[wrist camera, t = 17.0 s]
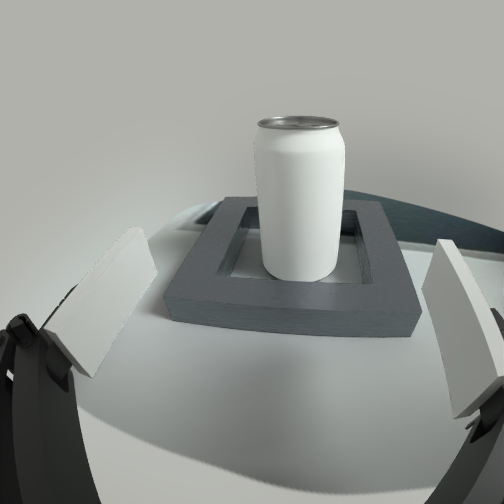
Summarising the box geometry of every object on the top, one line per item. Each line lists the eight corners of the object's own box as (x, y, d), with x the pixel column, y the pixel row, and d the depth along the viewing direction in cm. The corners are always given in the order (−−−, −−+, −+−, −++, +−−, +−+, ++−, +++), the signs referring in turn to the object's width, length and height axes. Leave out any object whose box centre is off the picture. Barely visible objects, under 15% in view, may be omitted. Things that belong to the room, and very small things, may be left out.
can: (293, 234, 28) (290, 113, 21) (349, 258, 24) (361, 121, 17) (247, 265, 24) (231, 124, 18) (307, 299, 20) (310, 132, 14)
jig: (376, 221, 29) (379, 201, 27) (410, 336, 16) (422, 311, 15) (228, 216, 32) (225, 196, 31) (172, 320, 20) (163, 295, 18)
